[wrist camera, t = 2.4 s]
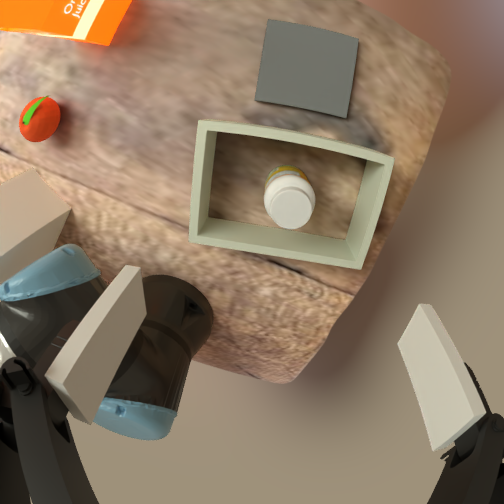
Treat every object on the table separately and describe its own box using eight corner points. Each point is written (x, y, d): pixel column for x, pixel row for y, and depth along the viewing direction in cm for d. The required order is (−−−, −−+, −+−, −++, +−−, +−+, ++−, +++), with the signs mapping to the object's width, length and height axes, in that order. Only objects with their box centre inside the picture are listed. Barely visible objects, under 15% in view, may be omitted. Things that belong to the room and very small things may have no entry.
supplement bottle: (307, 205, 36) (318, 236, 27) (266, 205, 36) (263, 236, 27) (308, 164, 33) (320, 182, 24) (264, 164, 33) (261, 182, 25)
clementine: (58, 82, 28) (27, 83, 22) (79, 106, 30) (48, 110, 24) (35, 121, 31) (5, 128, 25) (54, 146, 33) (24, 156, 27)
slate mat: (344, 118, 30) (346, 118, 29) (255, 100, 30) (254, 99, 29) (356, 40, 25) (358, 38, 24) (268, 21, 25) (268, 19, 24)
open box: (349, 247, 38) (360, 269, 32) (200, 222, 38) (188, 242, 32) (376, 150, 31) (394, 158, 26) (210, 119, 31) (198, 120, 26)
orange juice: (73, 41, 25) (-29, 31, 7) (97, -8, 21) (7, -41, 3) (109, 46, 26) (1, 26, 8) (137, -6, 22) (47, -56, 4)
